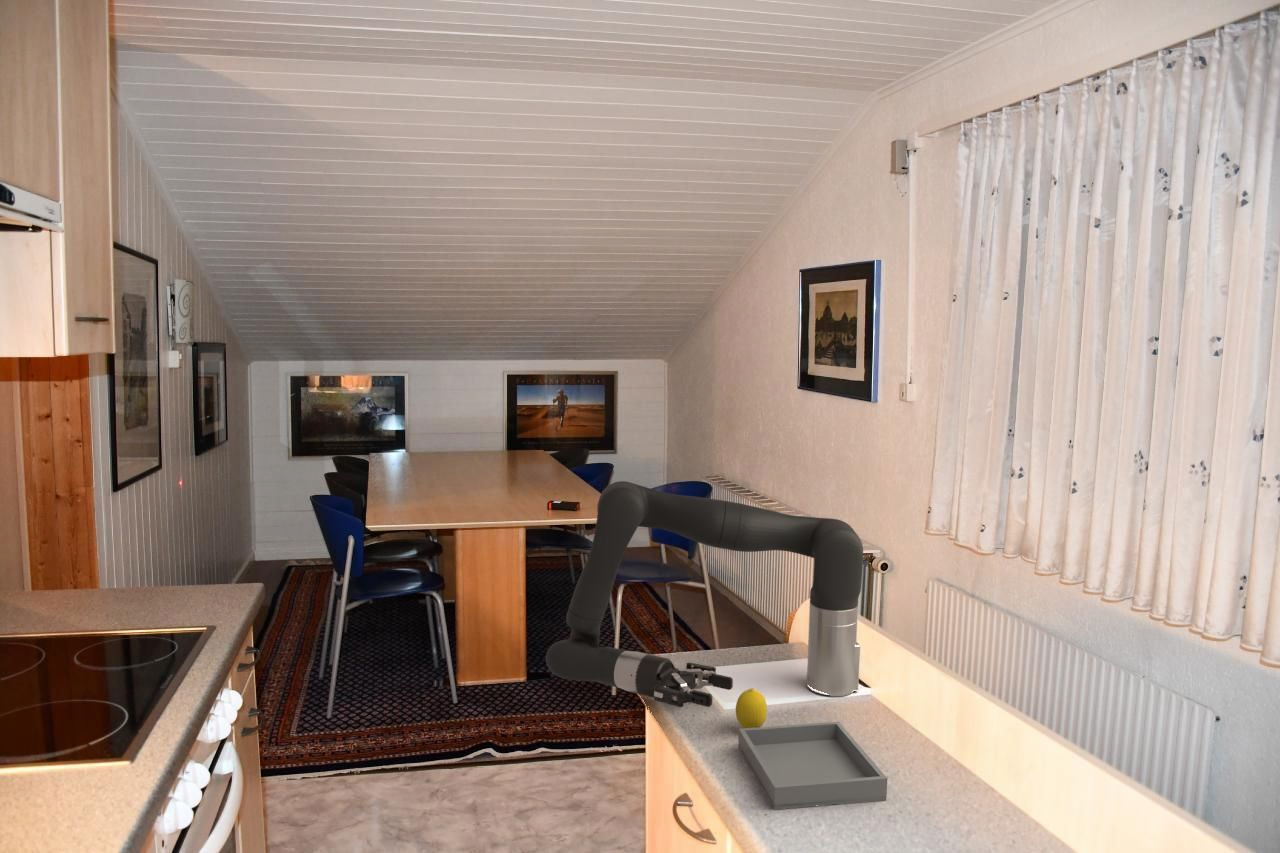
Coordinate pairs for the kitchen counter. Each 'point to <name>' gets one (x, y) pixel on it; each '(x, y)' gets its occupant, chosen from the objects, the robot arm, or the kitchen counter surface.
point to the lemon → (751, 709)
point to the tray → (811, 765)
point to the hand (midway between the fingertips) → (722, 692)
